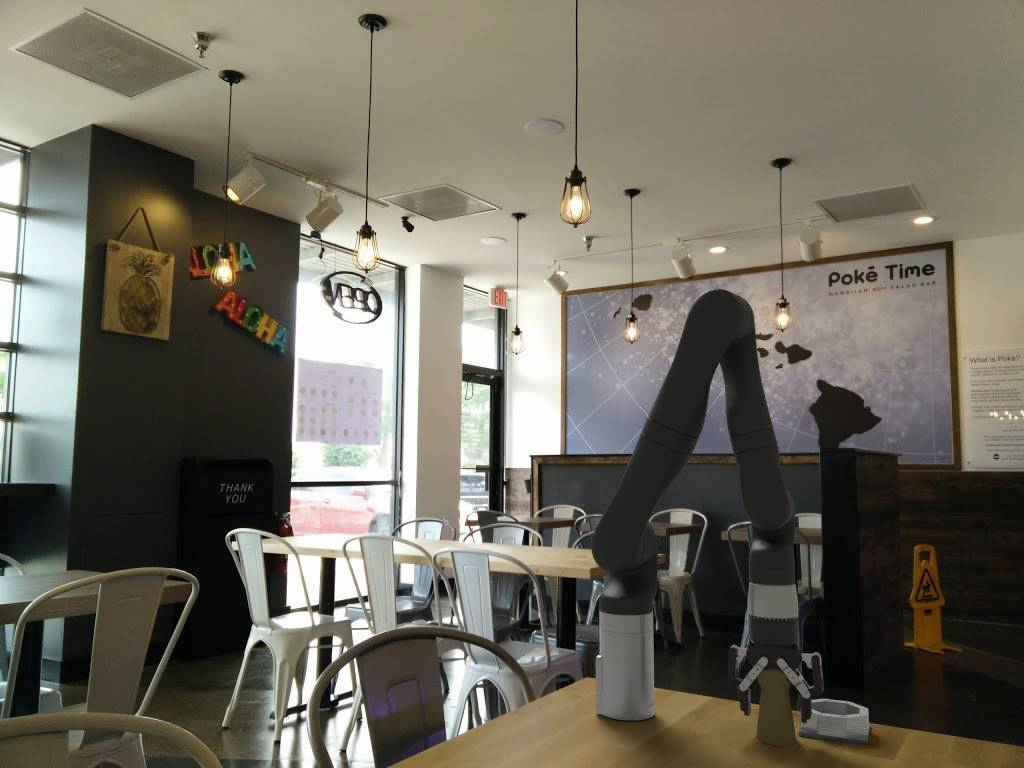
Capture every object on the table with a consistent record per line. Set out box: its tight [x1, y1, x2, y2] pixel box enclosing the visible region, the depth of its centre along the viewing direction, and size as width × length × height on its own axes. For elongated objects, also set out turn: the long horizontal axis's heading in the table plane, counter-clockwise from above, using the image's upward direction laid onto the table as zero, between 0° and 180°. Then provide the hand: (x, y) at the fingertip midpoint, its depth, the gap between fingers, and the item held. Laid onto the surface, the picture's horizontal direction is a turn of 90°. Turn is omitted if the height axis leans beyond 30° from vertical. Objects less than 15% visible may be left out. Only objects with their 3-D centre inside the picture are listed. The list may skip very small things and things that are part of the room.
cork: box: [755, 668, 797, 746], centre depth 132 cm, size 6×6×11 cm
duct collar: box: [798, 698, 871, 746], centre depth 136 cm, size 10×10×4 cm
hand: (775, 718), depth 132 cm, fingers open, 8 cm apart
